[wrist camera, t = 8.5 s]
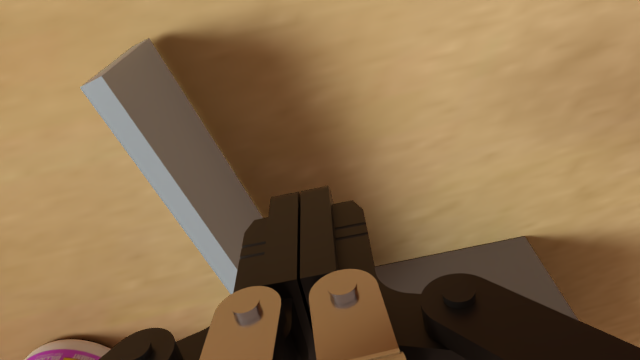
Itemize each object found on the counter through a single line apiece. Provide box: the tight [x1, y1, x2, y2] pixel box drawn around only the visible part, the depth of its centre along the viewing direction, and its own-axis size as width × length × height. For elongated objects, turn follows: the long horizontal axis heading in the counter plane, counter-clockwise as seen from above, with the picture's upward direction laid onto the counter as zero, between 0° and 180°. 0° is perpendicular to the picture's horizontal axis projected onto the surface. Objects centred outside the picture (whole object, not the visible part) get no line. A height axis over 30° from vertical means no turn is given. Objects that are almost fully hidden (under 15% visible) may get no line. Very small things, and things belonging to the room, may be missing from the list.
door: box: [80, 38, 263, 294], centre depth 20 cm, size 13×1×5 cm, turn 26°
